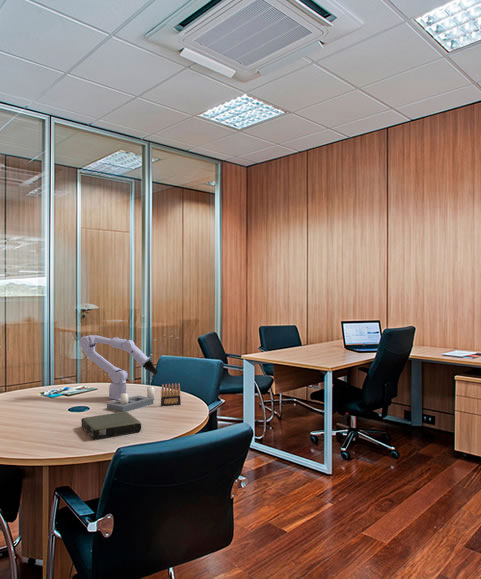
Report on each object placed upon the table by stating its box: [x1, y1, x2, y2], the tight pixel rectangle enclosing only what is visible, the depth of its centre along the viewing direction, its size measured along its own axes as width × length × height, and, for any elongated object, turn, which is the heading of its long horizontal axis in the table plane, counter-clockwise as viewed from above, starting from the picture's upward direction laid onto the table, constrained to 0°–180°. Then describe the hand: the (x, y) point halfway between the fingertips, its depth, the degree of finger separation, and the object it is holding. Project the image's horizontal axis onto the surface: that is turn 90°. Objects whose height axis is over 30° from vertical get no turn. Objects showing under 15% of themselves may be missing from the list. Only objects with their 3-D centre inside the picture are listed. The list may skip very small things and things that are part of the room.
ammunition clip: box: [160, 382, 182, 407], centre depth 238 cm, size 11×2×12 cm, turn 109°
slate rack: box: [106, 392, 154, 413], centre depth 235 cm, size 12×22×8 cm, turn 147°
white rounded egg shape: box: [146, 386, 155, 401], centre depth 250 cm, size 4×4×7 cm
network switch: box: [80, 411, 142, 441], centre depth 194 cm, size 23×24×5 cm
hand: (155, 372), depth 249 cm, fingers open, 7 cm apart
